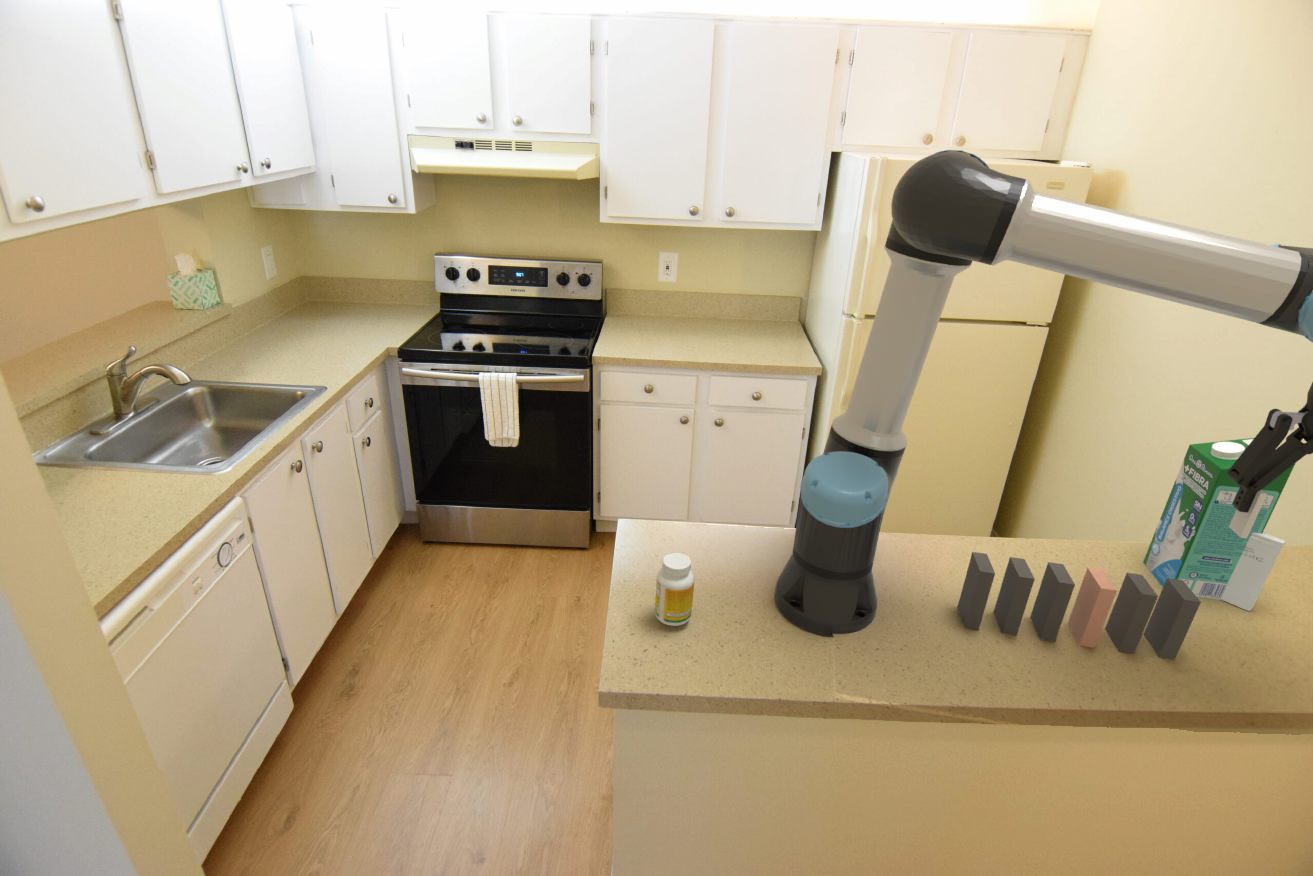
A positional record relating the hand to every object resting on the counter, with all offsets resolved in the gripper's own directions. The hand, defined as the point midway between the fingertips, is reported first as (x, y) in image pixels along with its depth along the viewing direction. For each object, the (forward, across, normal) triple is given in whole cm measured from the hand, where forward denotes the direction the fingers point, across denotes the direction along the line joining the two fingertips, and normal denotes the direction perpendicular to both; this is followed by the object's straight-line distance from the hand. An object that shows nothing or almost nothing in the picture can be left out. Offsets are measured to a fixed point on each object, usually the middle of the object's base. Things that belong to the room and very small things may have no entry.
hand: (1282, 538), depth 89 cm
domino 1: (+20, -34, 0) cm, 40 cm away
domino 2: (+20, -29, 0) cm, 35 cm away
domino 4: (+20, -19, 0) cm, 27 cm away
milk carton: (+20, +3, +19) cm, 28 cm away
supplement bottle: (+20, -78, -10) cm, 81 cm away
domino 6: (+20, -8, 0) cm, 22 cm away
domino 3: (+20, -24, 0) cm, 31 cm away
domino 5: (+20, -14, 0) cm, 24 cm away
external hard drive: (+20, +6, +15) cm, 26 cm away
